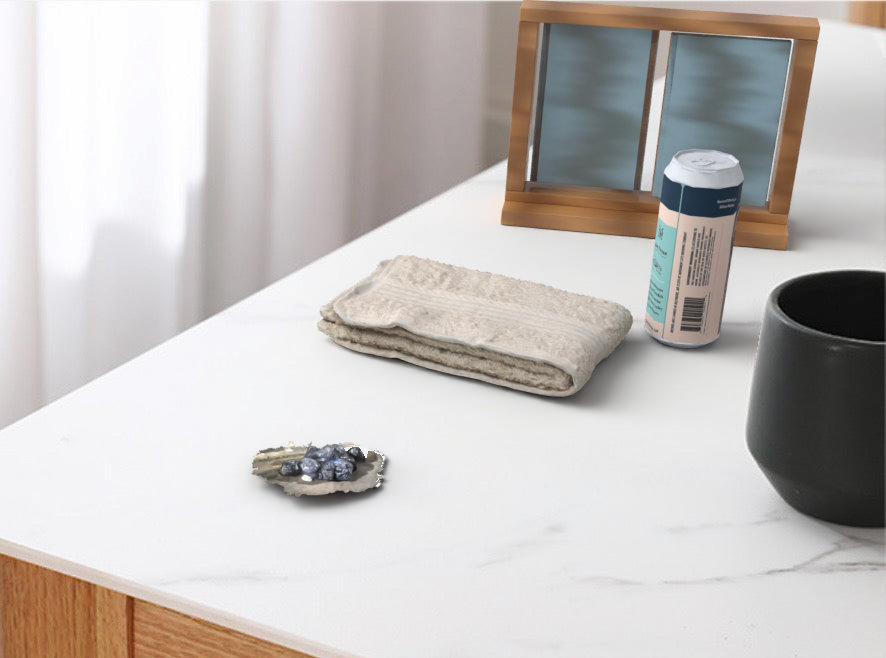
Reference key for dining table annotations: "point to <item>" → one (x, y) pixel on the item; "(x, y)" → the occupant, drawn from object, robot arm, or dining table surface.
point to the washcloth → (477, 325)
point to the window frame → (681, 116)
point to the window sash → (593, 105)
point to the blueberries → (319, 468)
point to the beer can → (693, 247)
